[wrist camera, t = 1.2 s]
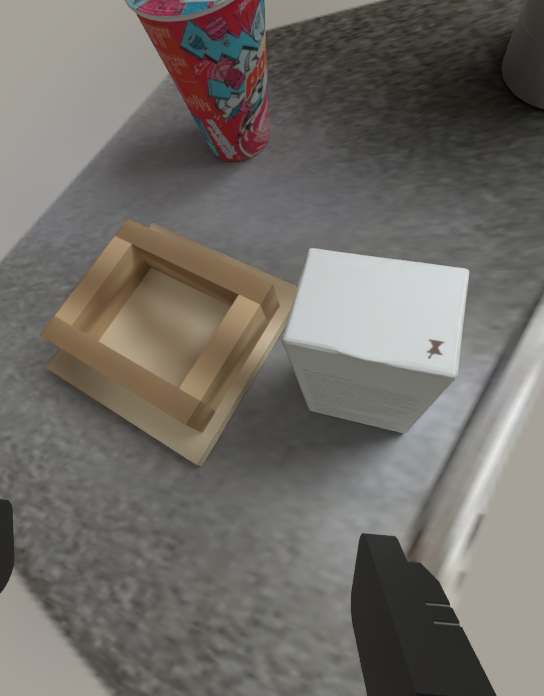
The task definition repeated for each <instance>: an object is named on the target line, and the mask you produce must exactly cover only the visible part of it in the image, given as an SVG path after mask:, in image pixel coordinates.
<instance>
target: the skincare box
mask: <svg viewBox="0 0 544 696" xmlns="http://www.w3.org/2000/svg"><path fill="white" fill-rule="evenodd" d="M468 280H469V271H468V270H467V269H465V268H456V267H449V266H442V265H434V264H427V263H420V262H412V261H404V260H397V259H389V258H381V257H373V256H365V255H358V254H351V253H343V252H336V251H329V250H322V249H316V248H310V249H309V250H308V254H307V257H306V260H305V263H304V267H303V270H302V273H301V277H300V280H299V283H298V287H297V290H296V293H295V297H294V300H293V303H292V306H291V310H290V313H289V317H288V320H287V324H286V327H285V330H284V334H283V337H282V343H283V345H284V347H285V349H286V352H287V354H288V356H289V359H290V362H291V364H292V367H293V369H294V372H295V375H296V377H297V380H298V382H299V385H300V388H301V391H302V393H303V396H304V398H305V401H306V404H307V406H308V409H309V410H310V411H313V412H317V413H321V414H325V415H329V416H333V417H337V418H342V419H346V420H350V421H354V422H358V423H362V424H366V425H370V426H375V427H379V428H383V429H387V430H392V431H396V432H400V433H404V434H405V433H406V432H407V431H408V430H409V429H410V428H411V427H412V426H413V425H414V424H415V422H416V421H417V420H418V419H419V418H420V417H421V416H422V415H423V414H424V413H425V412H426V411H427V409H428V408H429V407H430V406H431V405H432V404H433V403H434V402H435V400H436V399H437V398H438V397H439V396H440V395H441V394H442V393H443V391H444V390H445V389H446V388H447V387H448V386H449V385H450V384H451V383H452V382H453V381H454V380H455V379H456V377H457V376H458V366H459V357H460V347H461V339H462V330H463V321H464V313H465V304H466V296H467V288H468Z"/></svg>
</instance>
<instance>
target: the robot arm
mask: <svg viewBox="0 0 544 696" xmlns="http://www.w3.org/2000/svg"><path fill="white" fill-rule="evenodd" d="M501 69H502V75H503V79H504V81H505V83H506V85H507V87H508V88H509V89H510V90H511V91H512V92H513V93H514V94H515V95H516V96H517V97H519V98H520V99H521V100H523V101H524V102H526V103H528V104H531V105H533V106H535V107H538V108H541V109H544V0H525V2H524V4H523V7H522V9H521V12H520V15H519V17H518V20H517V23H516V26H515V28H514V31H513V34H512V36H511V39H510V42H509V44H508V47H507V50H506V52H505V55H504V58H503V61H502V68H501ZM13 566H14V537H13V511H12V505H11V503H10V502H9V501H8V500H2V499H0V593H1V592H2V591H3V589H4V588H5V586H6V584H7V583H8V581H9V578H10V576H11V573H12V570H13ZM351 616H352V624H353V629H354V634H355V638H356V643H357V648H358V653H359V658H360V663H361V668H362V672H363V677H364V682H365V687H366V692H367V696H496V694H495V692H494V690H493V688H492V686H491V684H490V682H489V680H488V678H487V676H486V674H485V672H484V670H483V668H482V666H481V664H480V662H479V660H478V658H477V656H476V654H475V652H474V650H473V648H472V646H471V644H470V642H469V640H468V638H467V636H466V634H465V632H464V630H463V628H462V627H460V625H459V620H458V618H457V616H456V614H455V612H454V610H453V609H452V608H450V603H449V601H448V599H447V597H446V595H445V593H444V591H443V589H442V587H441V585H440V583H439V581H438V580H437V579H436V578H435V577H434V576H433V575H432V574H431V573H430V572H429V571H428V570H427V569H426V568H425V567H424V566H423V565H422V564H421V563H414V562H407V560H406V557H405V555H404V553H403V550H402V548H401V546H400V543H399V541H398V539H397V538H396V537H395V536H387V535H376V534H365V533H362V534H361V536H360V539H359V545H358V552H357V558H356V565H355V571H354V578H353V585H352V592H351Z"/></svg>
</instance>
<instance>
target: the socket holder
mask: <svg viewBox="0 0 544 696" xmlns="http://www.w3.org/2000/svg"><path fill="white" fill-rule="evenodd" d="M296 290H297V286H295V285H293V284H290V283H288V282H286V281H284V280H281V279H279V278H277V277H275V276H272V275H270V274H268V273H265V272H263V271H261V270H259V269H256V268H254V267H252V266H250V265H247V264H245V263H243V262H241V261H238V260H236V259H234V258H232V257H229V256H227V255H225V254H223V253H220V252H218V251H216V250H214V249H211V248H209V247H207V246H205V245H202V244H200V243H198V242H196V241H193V240H191V239H189V238H187V237H184V236H182V235H180V234H177V233H175V232H173V231H171V230H168V229H166V228H164V227H162V226H159V225H157V224H155V223H152V224H151V225H150V227H149V228H148V227H145V226H143V225H141V224H139V223H136V222H134V221H132V220H130V219H127V220H126V222H125V223H124V224H123V226H122V227H121V228H120V230H119V231H118V232H117V234H116V235H115V236H114V238H113V239H112V240H111V241H110V243H109V244H108V245H107V247H106V248H105V249H104V251H103V252H102V253H101V255H100V256H99V257H98V259H97V260H96V261H95V263H94V264H93V265H92V267H91V268H90V269H89V271H88V272H87V273H86V275H85V276H84V277H83V279H82V280H81V281H80V283H79V284H78V285H77V287H76V288H75V289H74V291H73V292H72V293H71V295H70V296H69V297H68V299H67V300H66V301H65V303H64V304H63V305H62V307H61V308H60V309H59V311H58V312H57V313H56V315H55V316H54V317H53V319H52V320H51V321H50V323H49V324H48V325H47V327H46V328H45V329H44V331H43V332H42V333H41V334H40V336H42V337H43V338H45V339H46V340H48V341H50V342H51V343H53V344H55V345H56V346H58V347H59V348H60V349H59V351H58V352H57V354H56V355H55V356H54V358H53V359H52V360H51V362H50V363H49V364H48V366H47V367H46V368H47V369H48V370H50V371H51V372H53V373H55V374H56V375H58V376H59V377H61V378H62V379H64V380H65V381H67V382H69V383H70V384H72V385H73V386H75V387H76V388H78V389H79V390H81V391H82V392H84V393H86V394H87V395H89V396H90V397H92V398H93V399H95V400H96V401H98V402H100V403H101V404H103V405H104V406H106V407H107V408H109V409H110V410H112V411H114V412H115V413H117V414H118V415H120V416H121V417H123V418H124V419H126V420H127V421H129V422H131V423H132V424H134V425H135V426H137V427H138V428H140V429H141V430H143V431H145V432H146V433H148V434H149V435H151V436H152V437H154V438H155V439H157V440H159V441H160V442H162V443H163V444H165V445H166V446H168V447H169V448H171V449H172V450H174V451H176V452H177V453H179V454H180V455H182V456H183V457H185V458H186V459H188V460H190V461H191V462H193V463H194V464H196V465H198V466H203V464H204V462H205V461H206V459H207V457H208V456H209V454H210V452H211V451H212V449H213V447H214V446H215V444H216V442H217V441H218V439H219V437H220V436H221V434H222V432H223V431H224V429H225V427H226V426H227V424H228V422H229V421H230V419H231V417H232V416H233V414H234V412H235V410H236V409H237V407H238V405H239V404H240V402H241V400H242V399H243V397H244V395H245V394H246V392H247V390H248V389H249V387H250V385H251V384H252V382H253V380H254V379H255V377H256V375H257V374H258V372H259V370H260V369H261V367H262V365H263V364H264V362H265V360H266V359H267V357H268V355H269V353H270V352H271V350H272V348H273V347H274V345H275V343H276V342H277V340H278V338H279V337H280V335H281V333H282V332H283V330H284V328H285V327H286V324H287V320H288V317H289V313H290V310H291V306H292V303H293V300H294V297H295V293H296Z"/></svg>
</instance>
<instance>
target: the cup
mask: <svg viewBox="0 0 544 696" xmlns="http://www.w3.org/2000/svg"><path fill="white" fill-rule="evenodd" d="M125 1H126V3H127V5H128V6H129V7H130V8H131V9H132V10H133V11H134V12H135V13H136V14H137V16H138V18H139V20H140V21H141V23H142V25H143V27H144V29H145V30H146V32H147V34H148V36H149V38H150V39H151V41H152V43H153V45H154V47H155V48H156V50H157V52H158V54H159V56H160V57H161V59H162V61H163V63H164V65H165V66H166V68H167V70H168V72H169V74H170V75H171V77H172V79H173V81H174V83H175V85H176V86H177V88H178V90H179V92H180V94H181V96H182V97H183V99H184V101H185V103H186V105H187V106H188V108H189V110H190V112H191V114H192V116H193V117H194V119H195V121H196V123H197V125H198V127H199V128H200V130H201V132H202V134H203V136H204V138H205V139H206V141H207V143H208V145H209V147H210V149H211V150H212V152H213V153H214V154H215V155H216V156H217V157H218V158H220V159H222V160H226V161H242V160H246V159H249V158H251V157H253V156H255V155H256V154H258V153H259V152H260V151H261V150H262V149H263V148H264V147H265V145H266V144H267V142H268V139H269V110H268V81H267V58H266V33H265V6H264V0H125Z"/></svg>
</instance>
